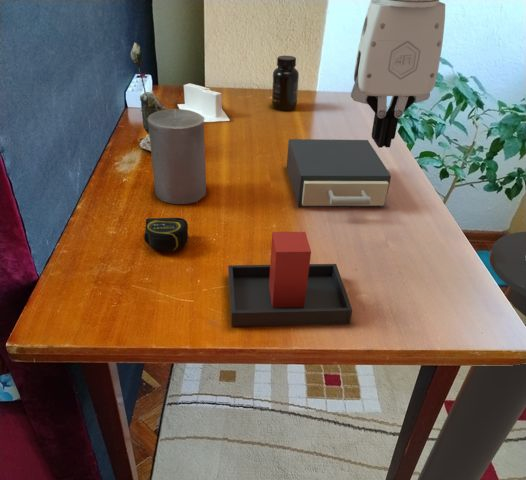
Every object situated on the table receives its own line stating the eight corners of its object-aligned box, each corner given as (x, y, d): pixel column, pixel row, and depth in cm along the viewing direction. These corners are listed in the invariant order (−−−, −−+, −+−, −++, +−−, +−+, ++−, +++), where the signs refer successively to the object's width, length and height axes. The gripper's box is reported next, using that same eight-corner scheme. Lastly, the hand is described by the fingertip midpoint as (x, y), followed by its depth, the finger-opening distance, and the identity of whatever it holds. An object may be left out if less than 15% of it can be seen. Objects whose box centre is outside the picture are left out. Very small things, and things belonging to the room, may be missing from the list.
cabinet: (384, 207, 93) (391, 175, 88) (298, 207, 91) (301, 175, 87) (362, 168, 105) (367, 139, 101) (286, 168, 104) (288, 139, 100)
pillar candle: (151, 185, 95) (141, 102, 85) (200, 180, 98) (196, 99, 88) (161, 208, 89) (151, 121, 78) (213, 201, 91) (210, 117, 81)
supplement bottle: (287, 102, 137) (290, 53, 129) (301, 109, 133) (305, 59, 124) (266, 105, 134) (268, 55, 126) (280, 112, 130) (283, 61, 122)
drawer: (390, 216, 88) (395, 194, 85) (306, 217, 87) (308, 194, 84) (363, 169, 103) (366, 148, 100) (290, 168, 102) (292, 147, 99)
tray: (334, 276, 75) (336, 263, 73) (349, 323, 67) (352, 310, 65) (228, 278, 73) (228, 265, 72) (231, 327, 65) (231, 313, 64)
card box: (299, 286, 72) (305, 231, 66) (304, 307, 68) (311, 251, 62) (268, 286, 71) (272, 231, 65) (272, 308, 68) (276, 251, 62)
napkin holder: (176, 104, 131) (174, 80, 127) (217, 102, 134) (217, 79, 130) (186, 123, 121) (185, 98, 117) (231, 120, 124) (230, 96, 120)
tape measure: (188, 234, 82) (187, 213, 80) (188, 256, 77) (186, 235, 75) (147, 234, 82) (144, 214, 79) (144, 256, 77) (141, 235, 74)
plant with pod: (138, 159, 104) (124, 51, 90) (139, 139, 112) (126, 38, 98) (177, 158, 105) (168, 52, 91) (175, 138, 113) (166, 38, 100)
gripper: (355, -8, 55) (336, 155, 68) (482, -7, 56) (440, 153, 69) (341, -17, 60) (326, 135, 73) (457, -16, 62) (423, 134, 74)
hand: (381, 143), depth 71 cm, fingers closed
